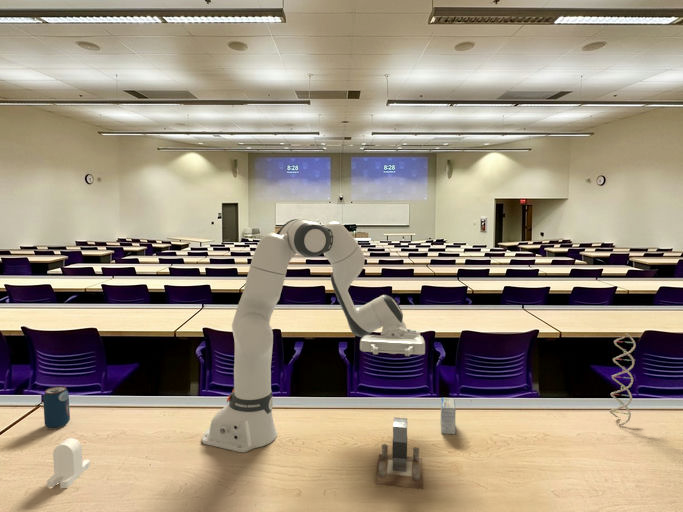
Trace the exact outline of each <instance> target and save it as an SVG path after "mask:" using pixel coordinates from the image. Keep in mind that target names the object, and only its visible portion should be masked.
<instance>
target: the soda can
mask: <svg viewBox="0 0 683 512" xmlns="http://www.w3.org/2000/svg"><path fill="white" fill-rule="evenodd" d="M42 400H43V419H44V421H43V422H44V426H46V428H47V427H48V429H49V428H57V429H60V428H59V427H61V428H63V427H65V426H67V425H66V424H69V422H70V420H71V414H70V410H71V409H70V399H69V391H68V389H67V387H66V386H65V385H63V386H62V385H58V386H52V387H50V388H47V389H46V390H44V395H43V396H42ZM64 425H65V426H64ZM62 426H63V427H62Z"/></svg>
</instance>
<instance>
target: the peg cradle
mask: <svg viewBox="0 0 683 512" xmlns="http://www.w3.org/2000/svg"><path fill="white" fill-rule="evenodd" d="M388 448H389V446H388V444H385V443H384V444H382V445H381V453H378V458H377V459H378V460H377V465H376V472H375V478H374V480H375V481H374V483H375V485H376V484H377V485H384V486H385V485H386V486H393V487H394V486H395V487H404V488H413V489H424V488H423V484H424V482H423V481H424V480H423V478H424V477H423V458H422V457H420V448H419V447H417V446H414V447H413V448H412V456H407V465H406V472H402V471H393V458H392V454H388V451H389V449H388Z"/></svg>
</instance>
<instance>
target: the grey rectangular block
mask: <svg viewBox="0 0 683 512" xmlns="http://www.w3.org/2000/svg"><path fill="white" fill-rule="evenodd" d="M391 450H392V451H391V452H392V454H391V455H392V458H393V471H402V472H406V465H407V457H408V418H406V417H393V424H392V449H391Z"/></svg>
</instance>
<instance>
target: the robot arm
mask: <svg viewBox="0 0 683 512" xmlns="http://www.w3.org/2000/svg"><path fill="white" fill-rule="evenodd" d="M322 254H323V255H324V256H325V258H326V260H328V262H329V263H330V265H331V267H332V268H331V269H332V273H331V275H330V282H331V285H332V289H333V291H334V293H335V295H336V298H337V300H338V302H339V304H340V306H341V308H342V309H341V310H342V311H343V313H344V316H345V318H346V321H347V323H348V327H349V329H350V331H351V333H352V334H353V336H355V337H360V340H359V350H360V351H361V352H365V353H366V352H368V353H372V354H373V355H379V353H387V354H391V355H396V354H401V355H403V354H404V356H405V357H410V355H425V354H426V341H425V339H424V337H423V335H421V332H420V330H419V331H418V330H414V329H409V328H408V327H407V325H406V323H405V321H404V320H403V319H404V314H403V311H402V308H401V307H400V306H399V303H398V302H397V301H396V300H395V298H393V297H392V296H390V295H387V294H382V295H380V296H379V297H376V298H374V299H372V300H371V301H369V302H367V303H365V304H364V305H362V306H359V307H357V306H355V305H354V301H353V300H352V297H351V295H350V293H349V288H350V286H351V284H353V283H354V281H355V280H356V279H357V278H358V277H359V275H360V274H361V272H362V271H363V269H364V266H365V262H366V261H365V258H366V257H365V255H364V252H363V250H362V248H361V247H360V245H359V243H358V242H357V241H356V239H355V238H354V236H353V235H352V234H351V232H350V231H349V230H348V229H347V228H346V227H345V226H344V225H343V224H342V223H341V222H339V221H330V222H327V223H325V224H321V223H318V222H315V221H311V220H309V219H301V218H294V219H290V220H289V221H287V222H286V223H284V224H283V225H282V227H281V228H280V229H279V230H278V231H276V233H267V234H264V235H263V236H262V237H261V238H260V239H259V242H258V244H257V245H256V248H255V250H254V253H253V256H252V259H251V261H250V262H251V263H250V266H249V269H248V273H247V277H246V280H245V285H244V288H243V292H242V294H241V297H240V300H239V301H238V304H237V308H236V311H235V314H234V317H233V321H232V324H231V331H232V334H233V335H232V336H233V339H234V340H233V341H234V364H233V380H234V381H233V385H234V386H233V389H232V392H230V393H229V394H228V397H227V398H226V403H228V404H226V405H225V406H224V407H222V408H221V409H220V410H219V411H217V413H216V414H215V415H214V416H213V417H212V420H211V421H210V422H211V423H210V426H209V427H208V428H207V429H206V430H205V431H204V433H203V434H202V438H201V442H202V444H204V445H208V446H212V447H216V448H221V449H226V450H229V451H234V452H237V453H246V452H249V451H250V450H253V449H256V448H260V447H264V446H266V445H269V444H271V443H272V442H273V441H274V440H275V439H276V438H277V435H278V434H277V433H278V431H277V430H276V427H275V426H276V425H275V422H274V416H273V406H274V397H273V391H272V385H271V384H272V381H271V380H272V371H271V370H272V369H271V368H272V358H273V356H272V355H273V346H274V345H273V344H274V334H273V333H274V331H273V328H272V326H271V325H270V324H271V323H270V321H271V317H272V315H273V312H274V310H275V308H276V306H277V304H278V302H279V301H280V298H281V293H282V290H283V287H284V283H285V280H286V279H285V278H286V275H287V270H288V268H289V263H290V262H291V260H292V258H293V257H295V256H296V255H298V256H302V257H305V258H306V257H307V258H315V257H318V256H320V255H322ZM381 328H382V330H381V333H380V335H378V334H372V333H373V332H375V331H377V330H379V329H381Z"/></svg>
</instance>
